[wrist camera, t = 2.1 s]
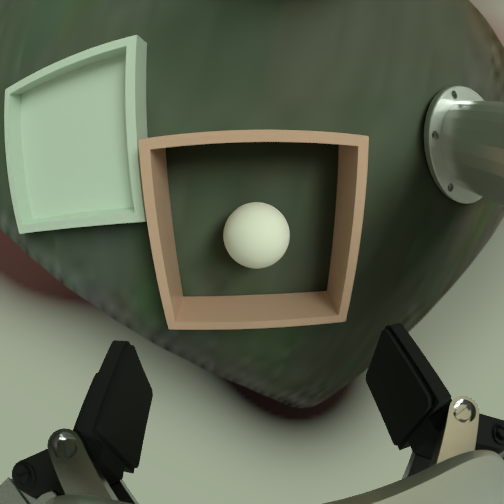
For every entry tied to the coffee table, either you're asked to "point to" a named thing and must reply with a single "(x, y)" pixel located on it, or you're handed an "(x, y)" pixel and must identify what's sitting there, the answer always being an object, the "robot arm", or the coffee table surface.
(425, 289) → the coffee table surface
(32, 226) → the tray
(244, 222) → the ball
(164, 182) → the tan square frame
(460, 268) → the coffee table surface
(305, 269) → the coffee table surface
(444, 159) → the robot arm
